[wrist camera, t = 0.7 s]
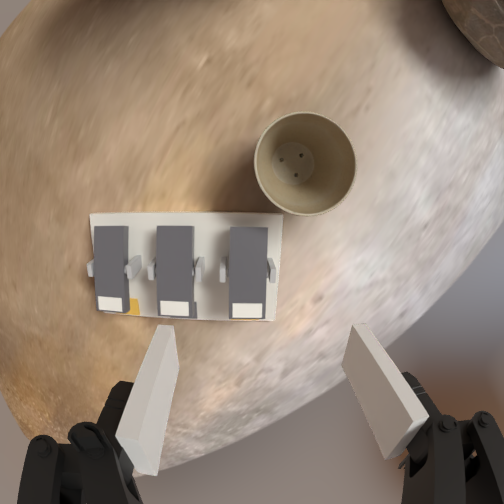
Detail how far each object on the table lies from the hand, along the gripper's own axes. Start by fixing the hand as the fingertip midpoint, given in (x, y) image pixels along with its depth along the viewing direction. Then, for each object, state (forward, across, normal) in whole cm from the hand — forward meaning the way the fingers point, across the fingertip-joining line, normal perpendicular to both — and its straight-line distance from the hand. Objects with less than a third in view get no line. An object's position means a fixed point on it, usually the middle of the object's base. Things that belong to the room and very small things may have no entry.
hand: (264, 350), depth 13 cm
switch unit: (+21, -8, -4) cm, 23 cm away
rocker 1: (+17, -16, -3) cm, 24 cm away
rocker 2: (+17, -8, -3) cm, 19 cm away
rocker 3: (+17, 0, -3) cm, 18 cm away
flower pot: (+22, +5, +9) cm, 24 cm away
